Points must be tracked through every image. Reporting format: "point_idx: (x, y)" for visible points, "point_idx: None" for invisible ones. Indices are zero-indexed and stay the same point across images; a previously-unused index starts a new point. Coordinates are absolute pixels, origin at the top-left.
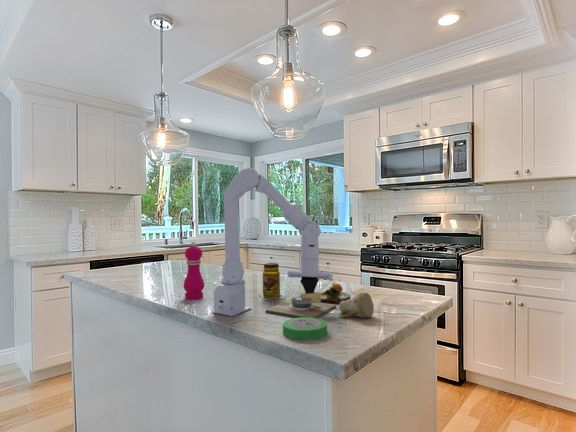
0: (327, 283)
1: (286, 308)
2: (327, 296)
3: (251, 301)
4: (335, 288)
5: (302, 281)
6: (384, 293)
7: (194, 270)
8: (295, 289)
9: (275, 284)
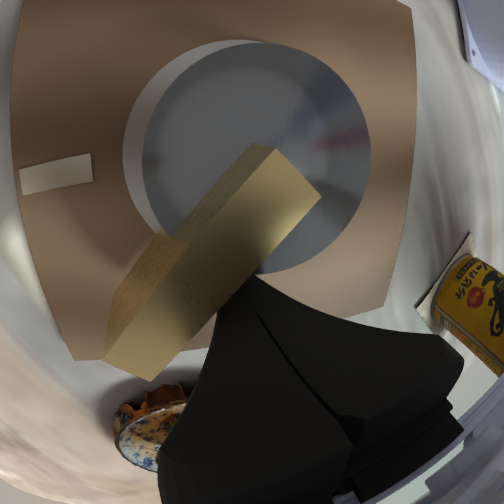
0: None
1: (333, 64)
2: None
3: (492, 187)
4: None
5: (430, 359)
6: (121, 498)
7: None
8: None
9: (491, 314)
